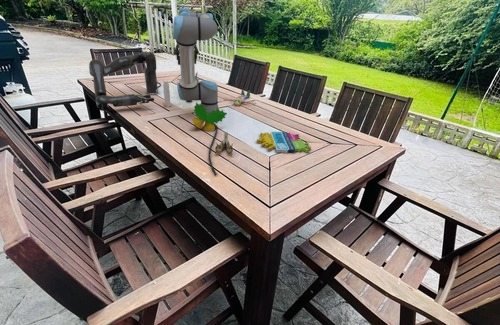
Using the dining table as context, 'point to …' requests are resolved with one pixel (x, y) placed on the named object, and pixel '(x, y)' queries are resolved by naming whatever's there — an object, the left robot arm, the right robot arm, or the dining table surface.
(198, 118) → the ornament
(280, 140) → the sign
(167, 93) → the bottle
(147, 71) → the left robot arm
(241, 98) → the toy
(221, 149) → the jawbone
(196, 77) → the airplane
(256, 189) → the dining table surface
